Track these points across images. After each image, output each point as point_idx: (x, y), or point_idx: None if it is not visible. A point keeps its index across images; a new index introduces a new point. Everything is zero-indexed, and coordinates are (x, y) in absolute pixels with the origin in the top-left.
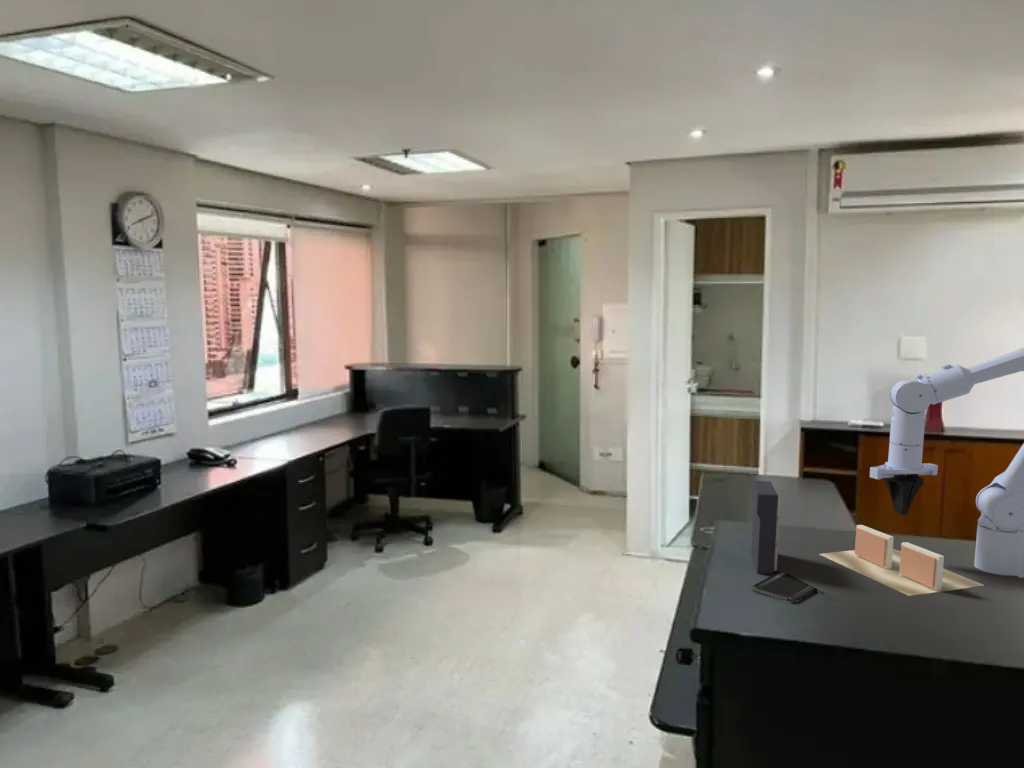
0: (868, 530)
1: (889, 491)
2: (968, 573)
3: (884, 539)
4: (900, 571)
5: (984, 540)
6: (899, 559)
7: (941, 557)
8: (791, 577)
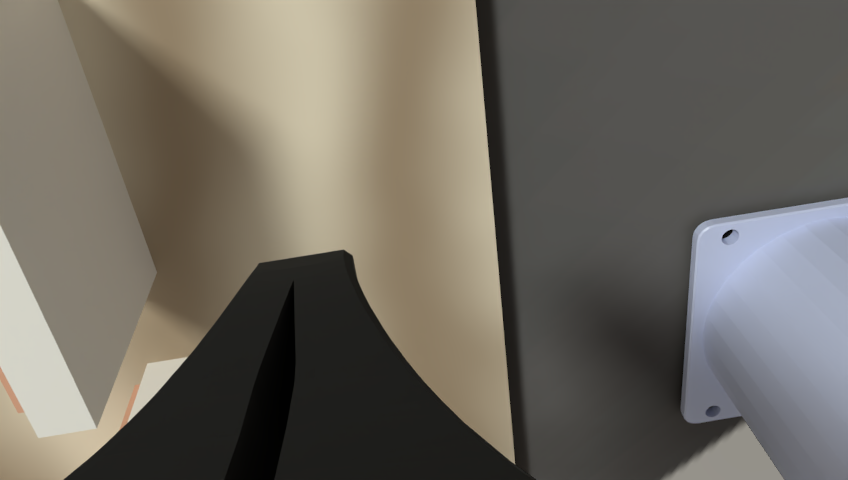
0: None
1: (99, 457)
2: (638, 303)
3: (15, 406)
4: (134, 399)
5: (801, 474)
6: (328, 123)
7: None
8: None
